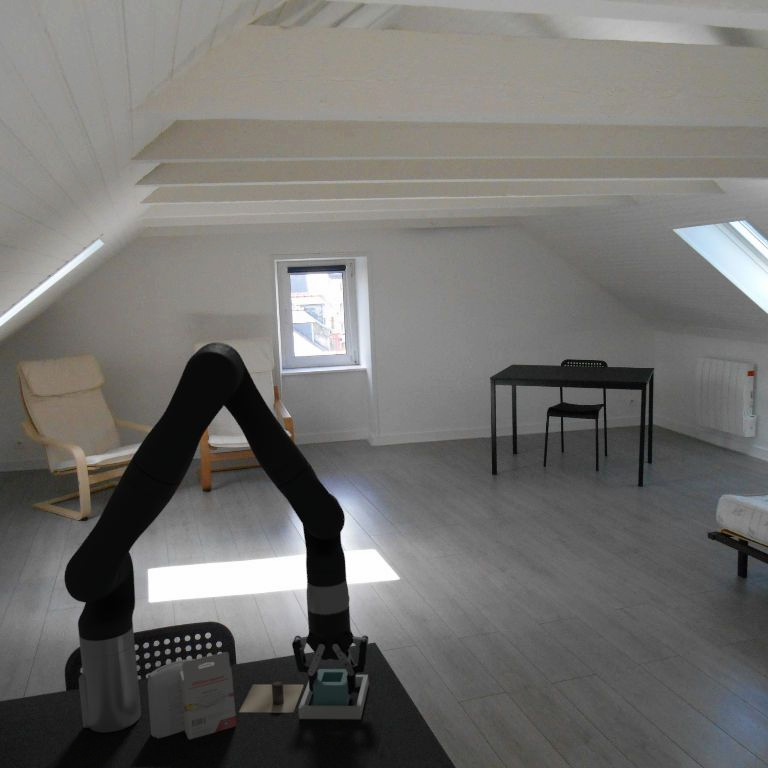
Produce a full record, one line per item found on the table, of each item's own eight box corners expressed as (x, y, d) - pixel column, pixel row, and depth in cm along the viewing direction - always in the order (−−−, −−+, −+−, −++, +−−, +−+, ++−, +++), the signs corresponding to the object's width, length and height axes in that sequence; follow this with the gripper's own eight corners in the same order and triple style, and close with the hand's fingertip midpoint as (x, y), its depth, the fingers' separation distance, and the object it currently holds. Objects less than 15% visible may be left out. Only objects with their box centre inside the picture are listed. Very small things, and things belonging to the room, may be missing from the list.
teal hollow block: (314, 706, 143) (313, 685, 143) (322, 683, 151) (320, 663, 150) (347, 706, 142) (346, 685, 142) (353, 684, 150) (352, 663, 150)
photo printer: (205, 714, 146) (200, 650, 144) (213, 725, 142) (207, 659, 141) (148, 733, 141) (142, 666, 139) (155, 744, 137) (148, 676, 135)
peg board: (239, 717, 145) (237, 693, 144) (253, 689, 155) (251, 667, 154) (293, 717, 144) (291, 694, 143) (304, 689, 154) (302, 667, 153)
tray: (299, 723, 142) (298, 708, 141) (311, 689, 153) (311, 674, 153) (361, 724, 140) (360, 708, 140) (368, 689, 152) (368, 674, 152)
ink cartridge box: (230, 718, 145) (224, 640, 143) (237, 731, 140) (231, 651, 138) (182, 731, 141) (175, 652, 139) (188, 745, 137) (181, 663, 135)
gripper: (284, 612, 140) (290, 703, 143) (365, 612, 139) (370, 703, 141) (293, 596, 148) (298, 682, 150) (370, 595, 146) (374, 682, 149)
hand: (333, 692), depth 146 cm, fingers closed on teal hollow block, 5 cm apart
